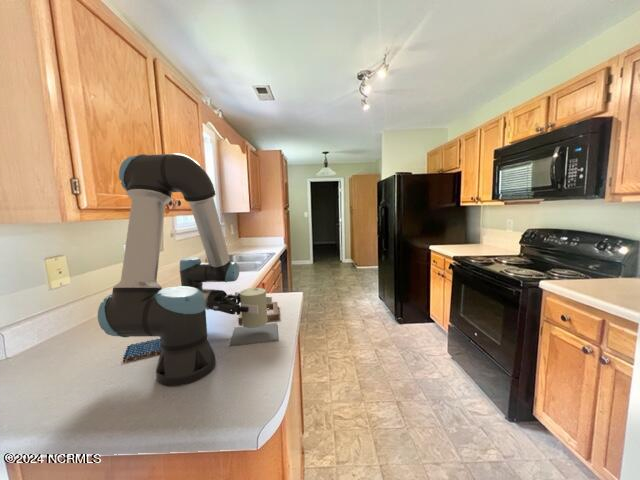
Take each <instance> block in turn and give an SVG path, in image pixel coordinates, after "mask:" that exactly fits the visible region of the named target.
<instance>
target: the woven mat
mask: <svg viewBox="0 0 640 480" xmlns="http://www.w3.org/2000/svg"><path fill="white" fill-rule="evenodd" d="M158 353H159V354H160V353H161V340H160V338H155V339H151V340H146V341H142V342H136V343H131V344H129V345H127V348H126V349H125V352H124V355H123V357H122V359H123V360H122V362H123V363H127V362H129V361H131V362H133V360H134V361H136V360H138V359H139V360H140V359H146V358H149V357H153V356H154V355H155V356H158Z"/></svg>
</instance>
